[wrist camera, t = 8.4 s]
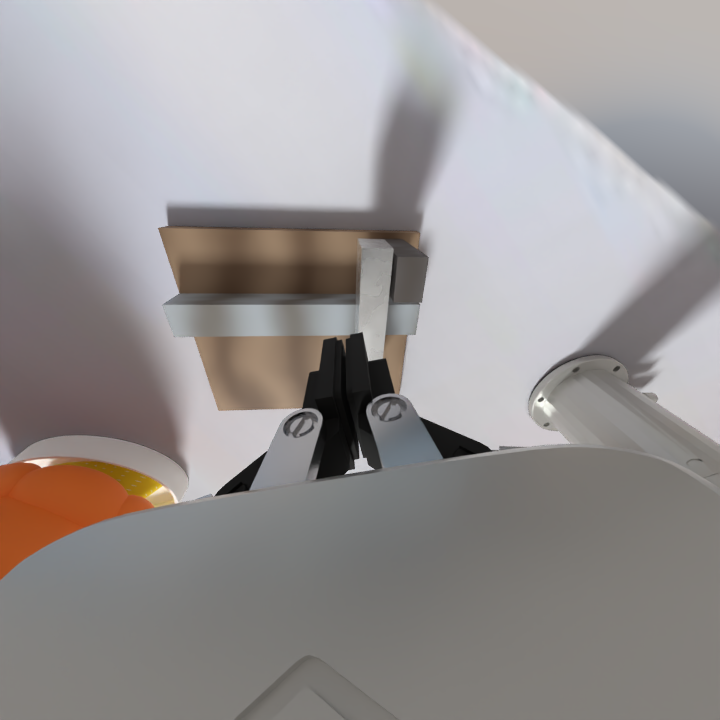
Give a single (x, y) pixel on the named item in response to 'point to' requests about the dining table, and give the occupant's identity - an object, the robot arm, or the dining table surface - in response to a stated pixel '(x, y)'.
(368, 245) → the bar
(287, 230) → the frame
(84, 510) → the potted cactus
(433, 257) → the dining table surface
